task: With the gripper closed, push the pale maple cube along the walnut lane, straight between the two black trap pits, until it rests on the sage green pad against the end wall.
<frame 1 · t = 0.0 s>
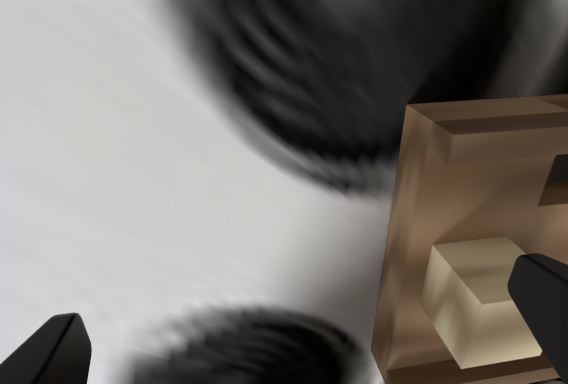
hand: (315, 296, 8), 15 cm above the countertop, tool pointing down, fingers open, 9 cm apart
trap box: (548, 230, 29), on the countertop
maple cube: (461, 271, 25), point 3 cm above the countertop, touching trap box
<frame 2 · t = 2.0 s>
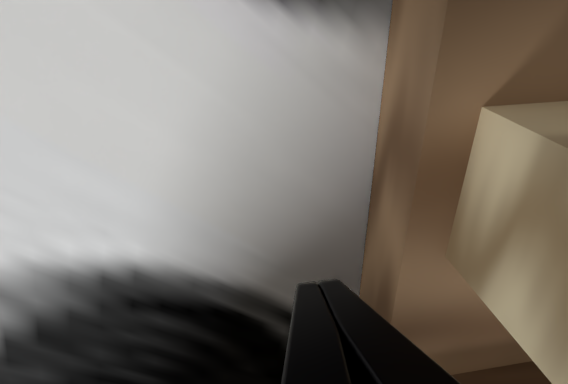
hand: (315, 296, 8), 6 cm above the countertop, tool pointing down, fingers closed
maple cube: (537, 182, 12), point 3 cm above the countertop, touching trap box
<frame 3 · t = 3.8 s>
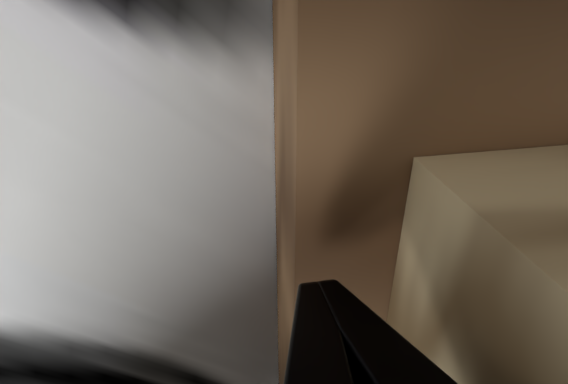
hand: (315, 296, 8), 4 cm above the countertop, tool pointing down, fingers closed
maple cube: (493, 242, 9), point 3 cm above the countertop, touching gripper
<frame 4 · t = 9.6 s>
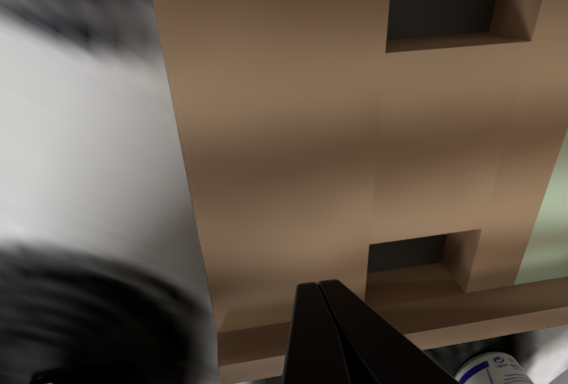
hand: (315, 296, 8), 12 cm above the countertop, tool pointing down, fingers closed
energy drink: (480, 369, 32), on the countertop
trap box: (447, 126, 20), on the countertop
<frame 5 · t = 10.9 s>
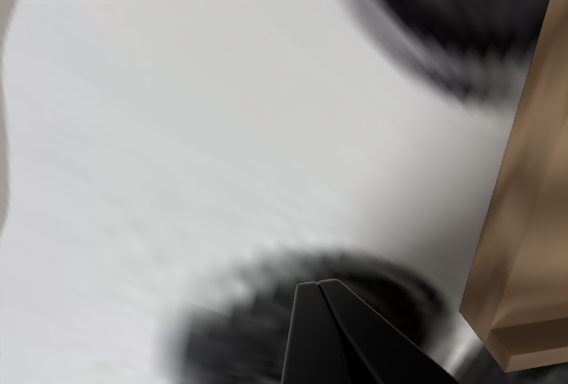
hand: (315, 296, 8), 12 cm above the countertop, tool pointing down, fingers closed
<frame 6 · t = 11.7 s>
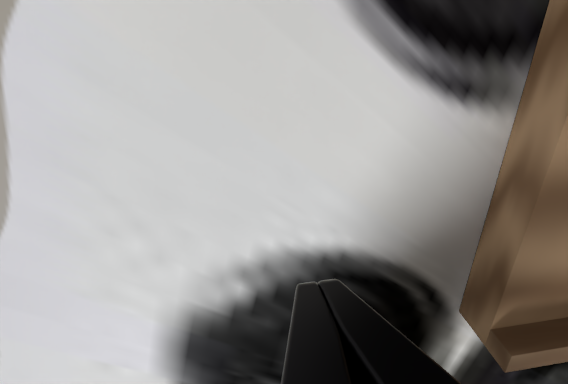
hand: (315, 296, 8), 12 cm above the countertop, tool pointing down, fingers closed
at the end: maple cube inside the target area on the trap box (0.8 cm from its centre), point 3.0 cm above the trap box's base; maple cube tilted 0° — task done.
